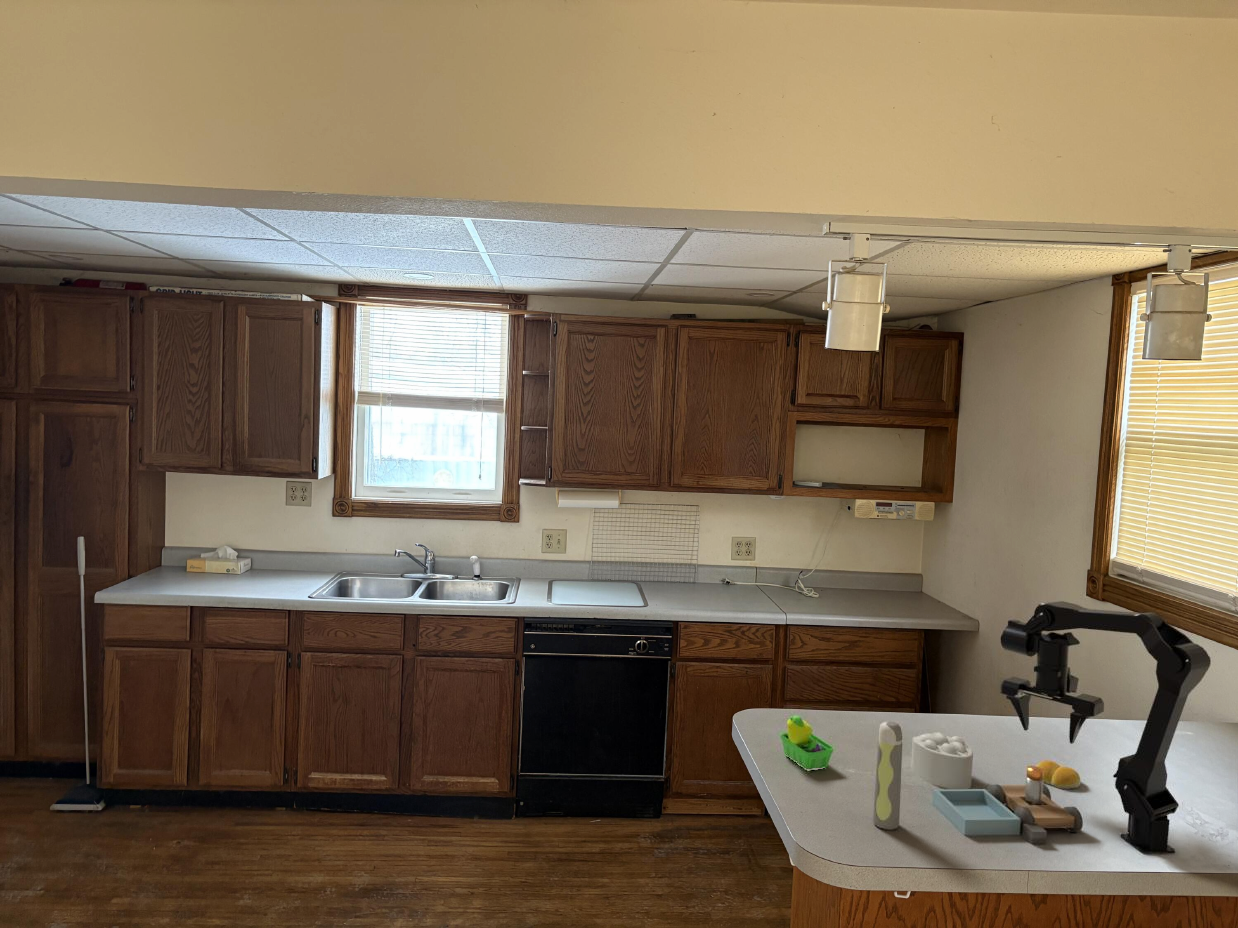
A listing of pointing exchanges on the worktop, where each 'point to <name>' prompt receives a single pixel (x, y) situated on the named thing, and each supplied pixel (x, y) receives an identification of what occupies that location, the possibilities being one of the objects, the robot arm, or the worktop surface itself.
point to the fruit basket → (805, 745)
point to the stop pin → (1034, 785)
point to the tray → (976, 812)
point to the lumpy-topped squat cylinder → (942, 760)
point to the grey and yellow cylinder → (888, 776)
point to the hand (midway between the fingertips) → (1048, 736)
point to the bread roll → (1059, 775)
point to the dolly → (1036, 812)
